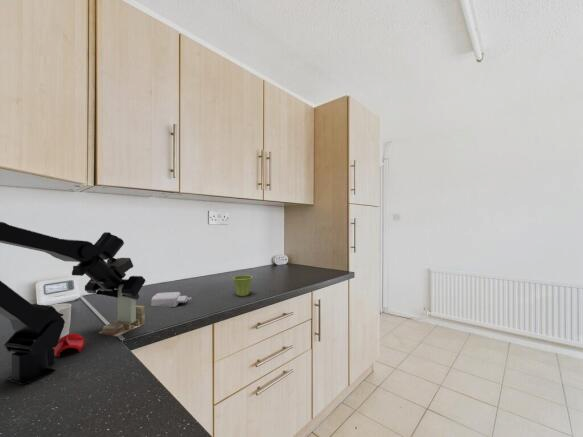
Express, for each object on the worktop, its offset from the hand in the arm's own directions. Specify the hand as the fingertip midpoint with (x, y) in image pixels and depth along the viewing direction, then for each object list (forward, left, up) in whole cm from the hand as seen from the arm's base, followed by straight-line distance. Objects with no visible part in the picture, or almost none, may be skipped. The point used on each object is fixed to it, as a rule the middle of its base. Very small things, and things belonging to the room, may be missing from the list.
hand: (130, 297), depth 90 cm
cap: (-19, -1, -11) cm, 22 cm away
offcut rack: (-3, 0, -10) cm, 11 cm away
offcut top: (-6, 0, -8) cm, 10 cm away
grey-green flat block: (-1, 0, -7) cm, 7 cm away
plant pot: (+48, -17, -11) cm, 52 cm away
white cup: (-14, +14, -11) cm, 23 cm away
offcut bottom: (-6, 0, -9) cm, 11 cm away
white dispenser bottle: (+25, +5, -11) cm, 28 cm away
